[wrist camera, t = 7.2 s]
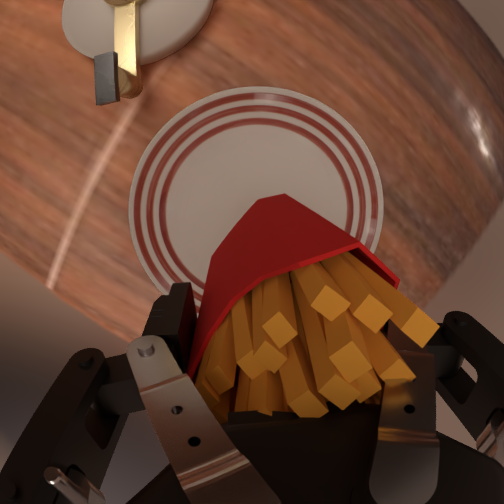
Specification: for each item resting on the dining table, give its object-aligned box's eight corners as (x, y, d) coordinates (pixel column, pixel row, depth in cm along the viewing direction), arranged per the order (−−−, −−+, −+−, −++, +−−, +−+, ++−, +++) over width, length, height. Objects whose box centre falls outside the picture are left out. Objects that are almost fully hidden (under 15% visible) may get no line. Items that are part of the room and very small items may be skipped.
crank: (107, -22, 18) (83, -47, 12) (155, -34, 19) (138, -65, 13) (108, 111, 25) (76, 110, 18) (158, 102, 25) (137, 95, 19)
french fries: (280, 168, 15) (394, 279, 4) (335, 214, 16) (474, 364, 5) (184, 285, 18) (141, 481, 7) (239, 320, 19) (248, 510, 8)
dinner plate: (311, 339, 42) (316, 354, 39) (115, 279, 36) (106, 292, 33) (406, 154, 32) (421, 158, 29) (184, 56, 27) (179, 49, 24)
